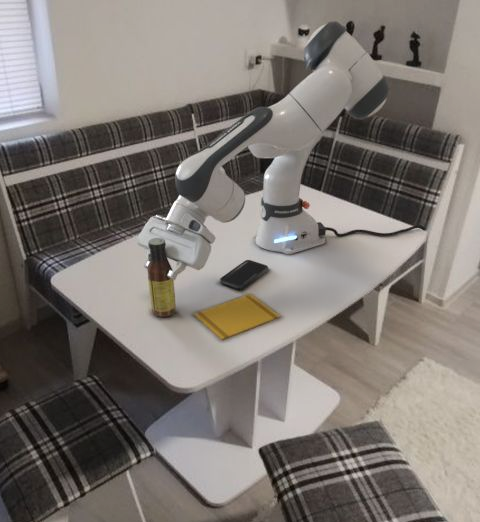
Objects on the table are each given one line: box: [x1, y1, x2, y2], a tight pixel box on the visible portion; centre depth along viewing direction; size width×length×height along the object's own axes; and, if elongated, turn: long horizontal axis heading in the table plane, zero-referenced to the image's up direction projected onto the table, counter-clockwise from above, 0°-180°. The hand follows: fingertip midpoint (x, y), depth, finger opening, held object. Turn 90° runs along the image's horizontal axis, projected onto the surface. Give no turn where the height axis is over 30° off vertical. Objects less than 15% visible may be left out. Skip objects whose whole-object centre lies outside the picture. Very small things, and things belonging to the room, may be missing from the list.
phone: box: [219, 259, 269, 291], centre depth 151 cm, size 8×1×15 cm
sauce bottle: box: [146, 238, 177, 318], centre depth 130 cm, size 7×6×20 cm
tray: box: [193, 293, 281, 341], centre depth 135 cm, size 18×13×1 cm
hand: (158, 273), depth 129 cm, fingers open, 6 cm apart
